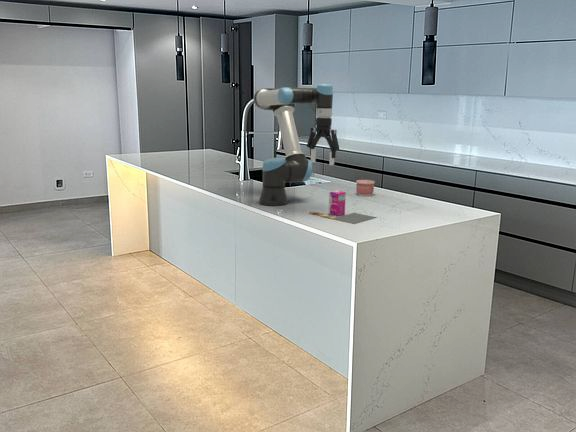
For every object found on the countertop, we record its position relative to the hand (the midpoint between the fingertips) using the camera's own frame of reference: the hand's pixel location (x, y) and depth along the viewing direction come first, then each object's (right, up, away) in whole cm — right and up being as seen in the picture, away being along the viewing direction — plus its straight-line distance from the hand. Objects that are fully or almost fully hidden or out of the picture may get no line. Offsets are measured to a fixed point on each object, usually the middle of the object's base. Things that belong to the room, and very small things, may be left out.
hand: (322, 163), depth 269 cm
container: (+27, -13, +50) cm, 59 cm away
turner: (0, -26, -5) cm, 26 cm away
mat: (+15, -27, -8) cm, 31 cm away
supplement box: (+7, -25, -1) cm, 26 cm away
